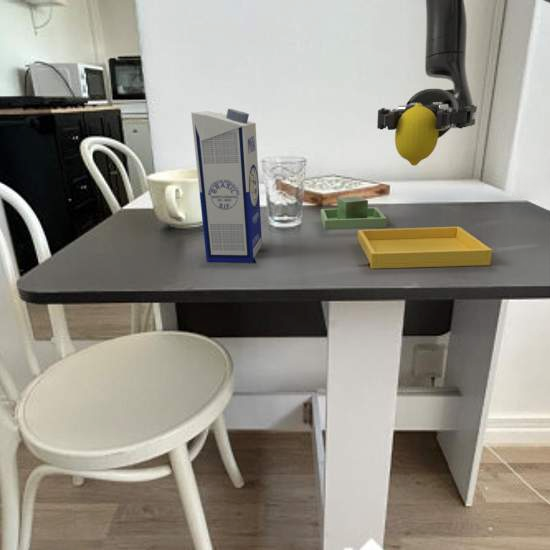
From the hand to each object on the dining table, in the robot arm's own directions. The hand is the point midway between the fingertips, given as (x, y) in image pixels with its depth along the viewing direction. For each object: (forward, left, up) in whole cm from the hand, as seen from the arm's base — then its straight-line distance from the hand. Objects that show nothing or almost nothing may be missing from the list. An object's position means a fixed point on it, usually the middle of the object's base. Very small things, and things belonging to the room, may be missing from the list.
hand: (414, 120), depth 56 cm
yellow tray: (-2, +1, -18) cm, 18 cm away
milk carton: (+24, -1, -18) cm, 30 cm away
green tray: (+5, -15, -18) cm, 24 cm away
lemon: (-1, -2, -6) cm, 7 cm away
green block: (+5, -15, -17) cm, 24 cm away
